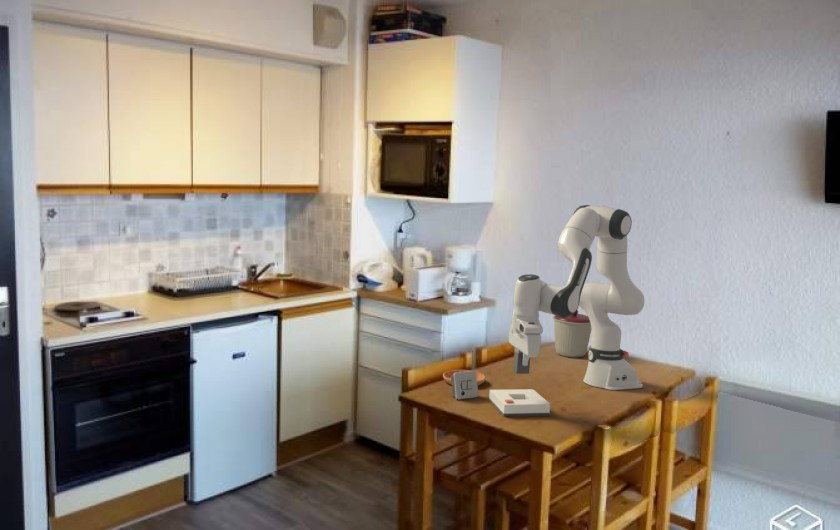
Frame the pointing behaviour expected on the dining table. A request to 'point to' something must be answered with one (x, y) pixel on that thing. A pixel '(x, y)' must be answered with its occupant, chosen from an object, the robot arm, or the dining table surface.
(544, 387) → the dining table surface
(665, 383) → the dining table surface
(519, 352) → the grey upright block
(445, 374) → the saucer
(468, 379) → the electrical switch
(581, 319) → the canister
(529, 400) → the socket
